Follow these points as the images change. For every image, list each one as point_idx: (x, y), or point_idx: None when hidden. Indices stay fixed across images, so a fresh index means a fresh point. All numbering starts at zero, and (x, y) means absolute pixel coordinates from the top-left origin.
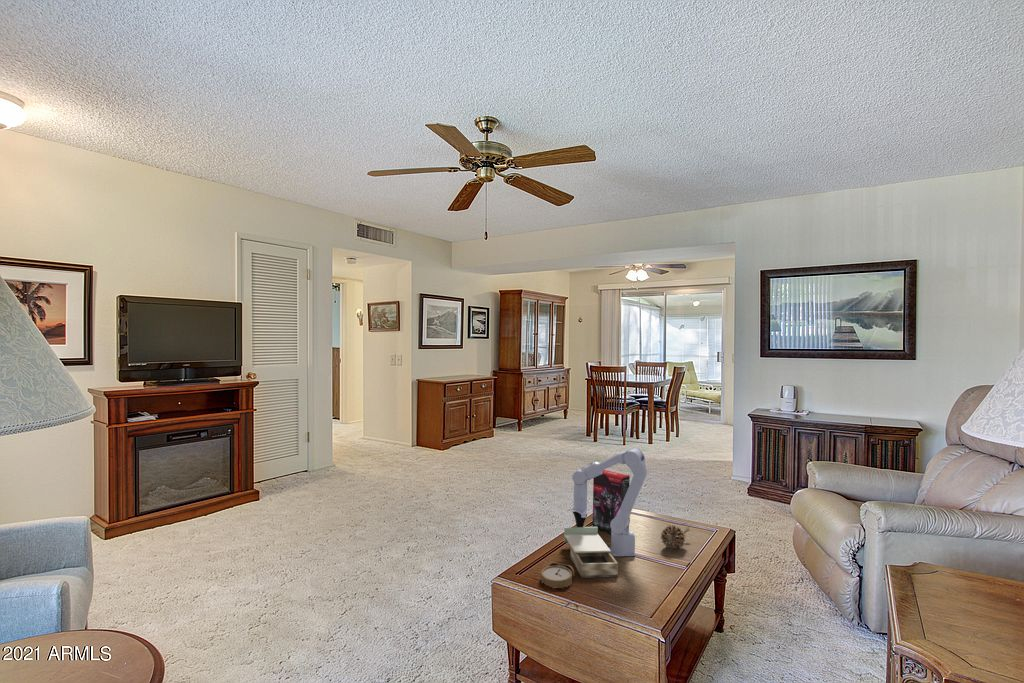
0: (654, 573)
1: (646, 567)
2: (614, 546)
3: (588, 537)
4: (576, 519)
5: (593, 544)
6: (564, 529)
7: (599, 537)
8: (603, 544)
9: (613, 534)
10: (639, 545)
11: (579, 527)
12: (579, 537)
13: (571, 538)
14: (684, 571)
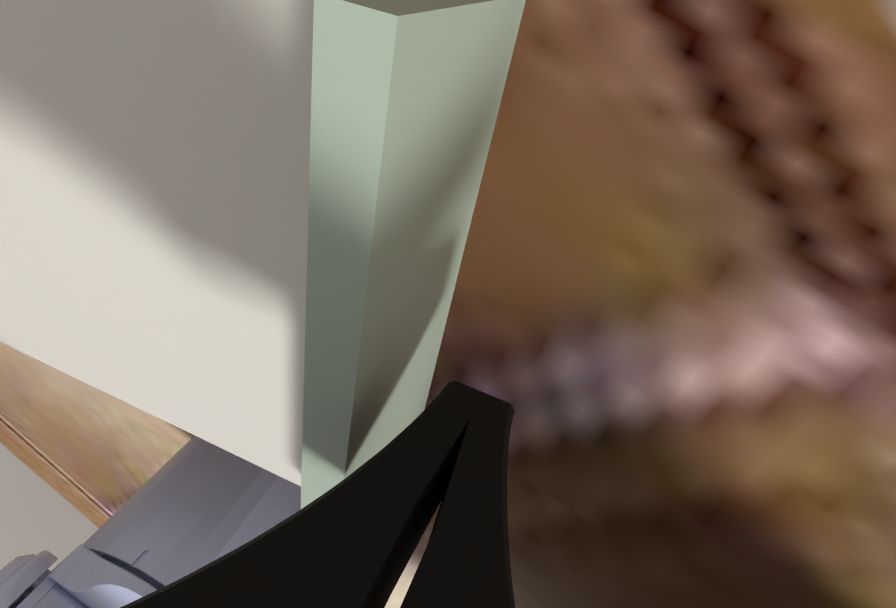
0: (32, 387)
1: (92, 408)
2: (198, 440)
3: (219, 339)
4: (247, 547)
5: (4, 246)
6: (407, 5)
7: (225, 441)
8: (38, 343)
9: (117, 537)
10: (389, 599)
11: (322, 403)
12: (213, 218)
13: (155, 30)
14: (87, 494)
